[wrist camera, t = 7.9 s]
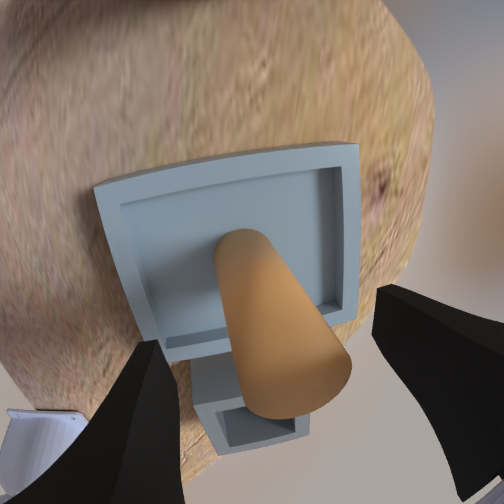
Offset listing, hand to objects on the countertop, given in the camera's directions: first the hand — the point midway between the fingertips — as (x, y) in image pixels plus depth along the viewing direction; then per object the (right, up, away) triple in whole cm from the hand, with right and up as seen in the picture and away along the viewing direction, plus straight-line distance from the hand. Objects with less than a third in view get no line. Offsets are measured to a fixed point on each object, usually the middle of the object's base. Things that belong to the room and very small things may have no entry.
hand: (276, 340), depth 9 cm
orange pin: (-1, +2, +6) cm, 6 cm away
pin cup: (-1, -6, +11) cm, 13 cm away
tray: (-1, +3, +7) cm, 7 cm away
